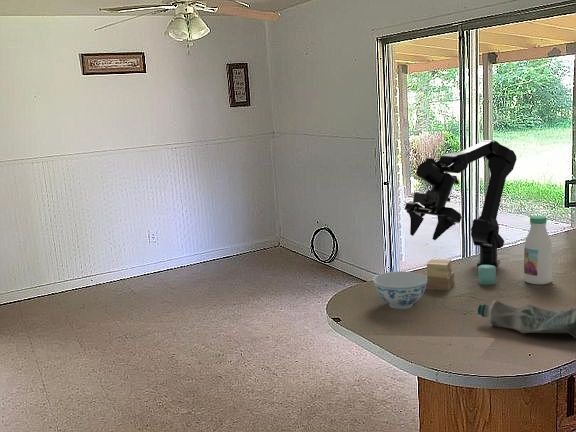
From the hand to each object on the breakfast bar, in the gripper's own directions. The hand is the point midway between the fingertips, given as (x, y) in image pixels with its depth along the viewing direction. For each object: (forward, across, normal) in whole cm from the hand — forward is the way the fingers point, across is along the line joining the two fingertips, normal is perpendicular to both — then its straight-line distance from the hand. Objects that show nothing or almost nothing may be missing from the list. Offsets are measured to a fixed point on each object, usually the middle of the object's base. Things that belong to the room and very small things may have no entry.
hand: (422, 237), depth 187 cm
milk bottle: (-1, +23, +30) cm, 37 cm away
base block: (+12, +5, +10) cm, 16 cm away
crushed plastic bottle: (+18, +44, +1) cm, 47 cm away
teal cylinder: (+5, +13, +20) cm, 24 cm away
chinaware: (+23, +9, -7) cm, 25 cm away
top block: (+8, +5, +8) cm, 12 cm away
